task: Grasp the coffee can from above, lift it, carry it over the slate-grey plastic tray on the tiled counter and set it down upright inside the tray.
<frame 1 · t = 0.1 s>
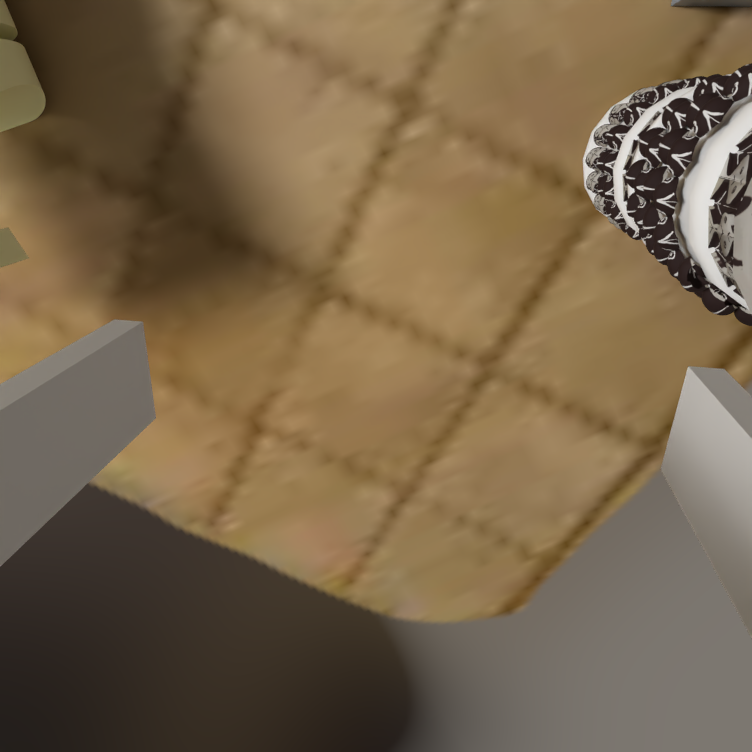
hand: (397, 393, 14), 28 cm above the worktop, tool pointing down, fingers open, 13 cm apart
decorative candle: (652, 160, 37), on the worktop
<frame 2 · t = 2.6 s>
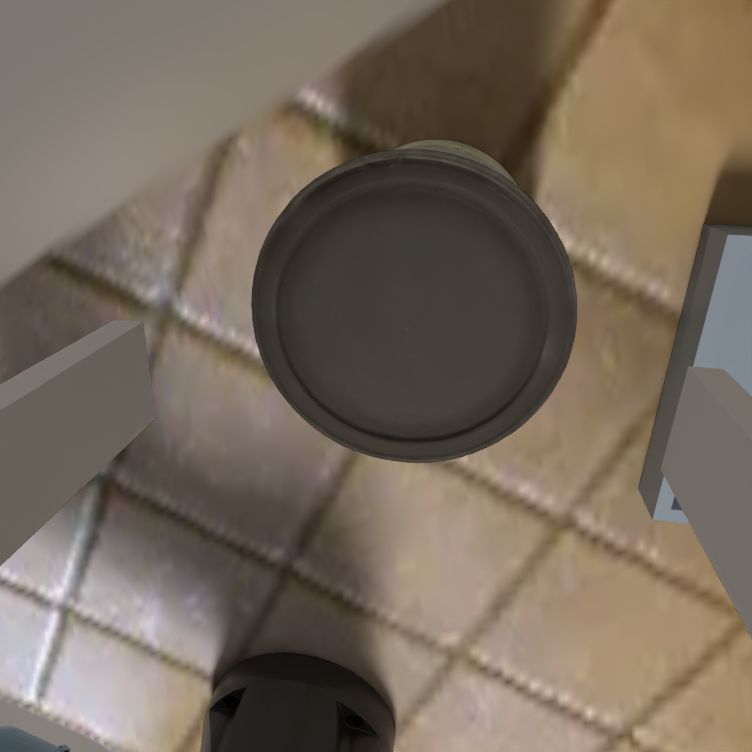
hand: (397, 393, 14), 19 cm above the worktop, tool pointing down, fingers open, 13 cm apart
coffee can: (433, 240, 32), on the worktop
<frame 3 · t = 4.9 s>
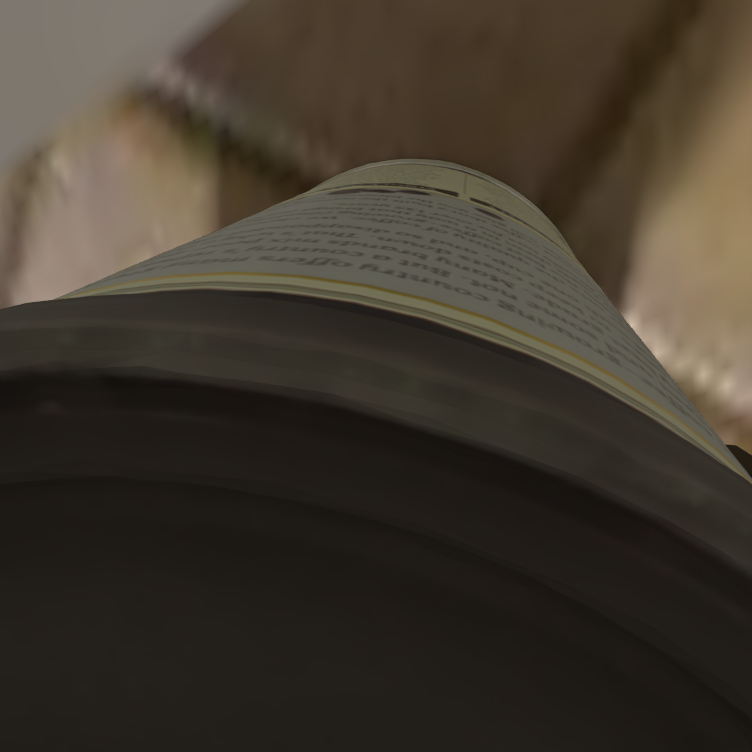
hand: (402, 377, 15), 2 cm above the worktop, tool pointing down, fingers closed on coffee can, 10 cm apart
coffee can: (411, 337, 17), on the worktop, touching gripper
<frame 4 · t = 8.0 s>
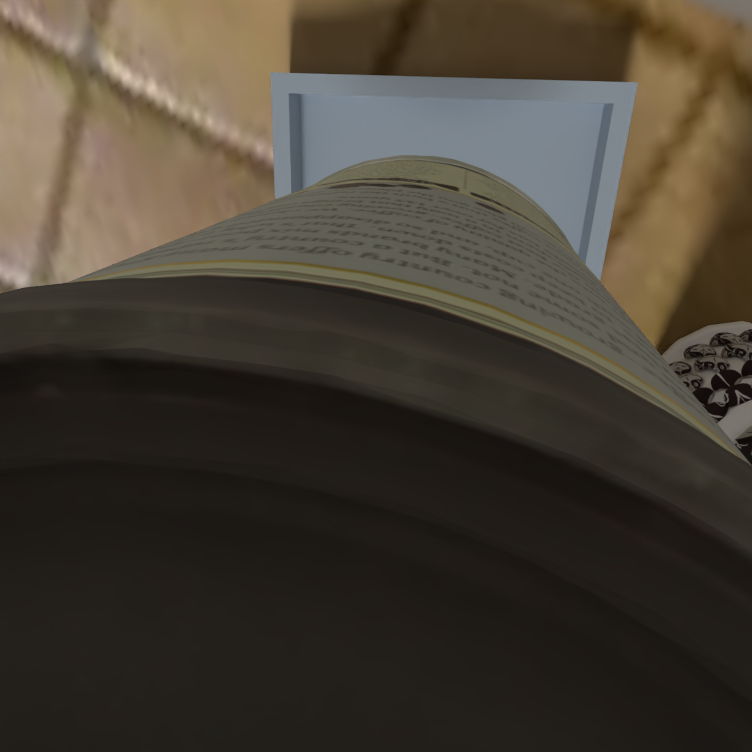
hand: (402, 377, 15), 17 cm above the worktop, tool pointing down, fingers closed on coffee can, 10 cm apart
tray: (437, 246, 31), on the worktop
decorative candle: (722, 392, 32), on the worktop
coffee can: (411, 334, 17), point 15 cm above the worktop, touching gripper
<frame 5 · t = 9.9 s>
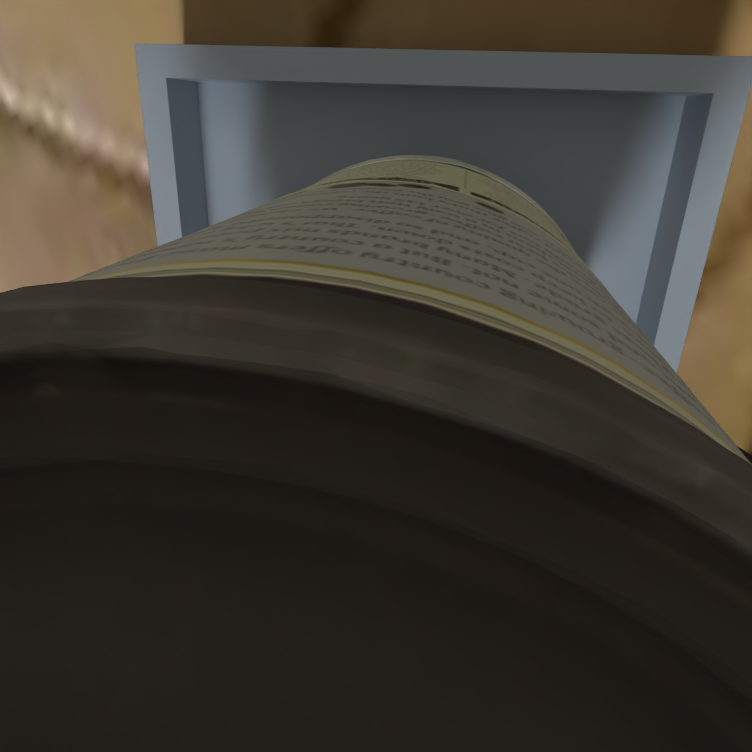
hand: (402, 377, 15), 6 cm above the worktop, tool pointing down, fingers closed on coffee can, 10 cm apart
tray: (417, 312, 21), on the worktop
coffee can: (411, 334, 17), point 3 cm above the worktop, touching gripper
when the fingers open (5 cm above the worktop, at t = 11.2 s): coffee can drops 1 cm, resting on tray.
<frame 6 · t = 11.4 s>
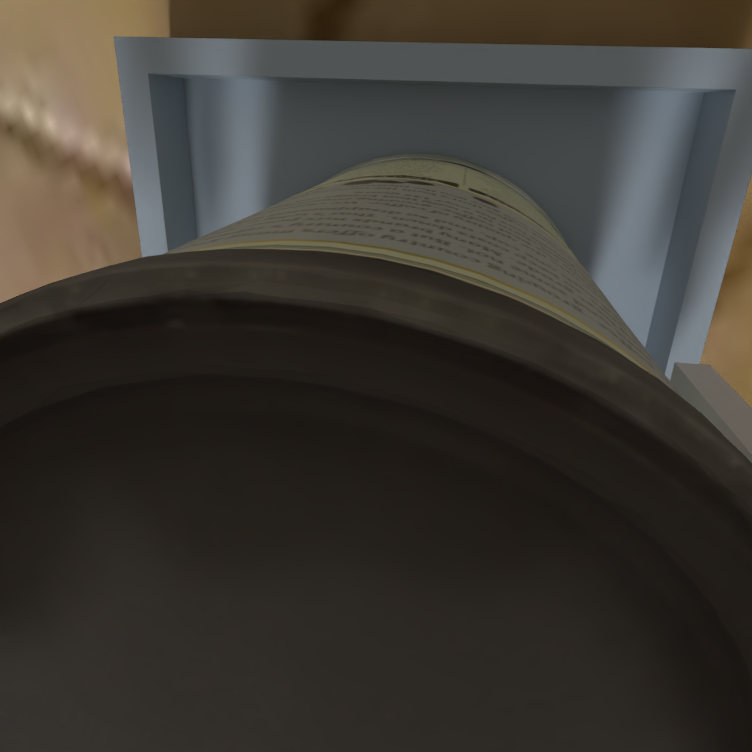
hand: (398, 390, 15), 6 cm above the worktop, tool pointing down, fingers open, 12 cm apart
tray: (417, 320, 20), on the worktop
coffee can: (415, 320, 19), point 1 cm above the worktop, touching tray
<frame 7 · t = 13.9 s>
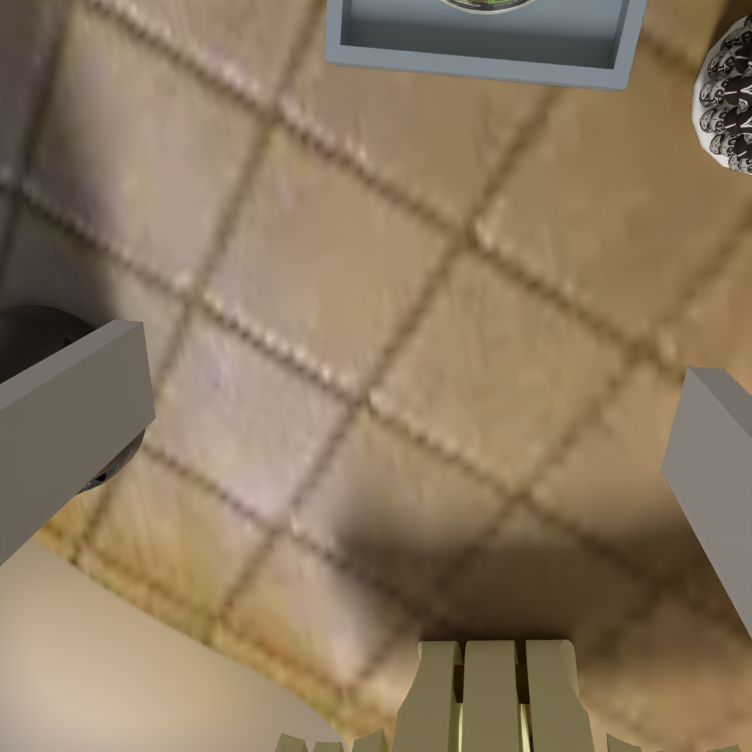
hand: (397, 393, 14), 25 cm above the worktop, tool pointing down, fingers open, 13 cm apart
slatted curved stool: (500, 687, 52), on the worktop
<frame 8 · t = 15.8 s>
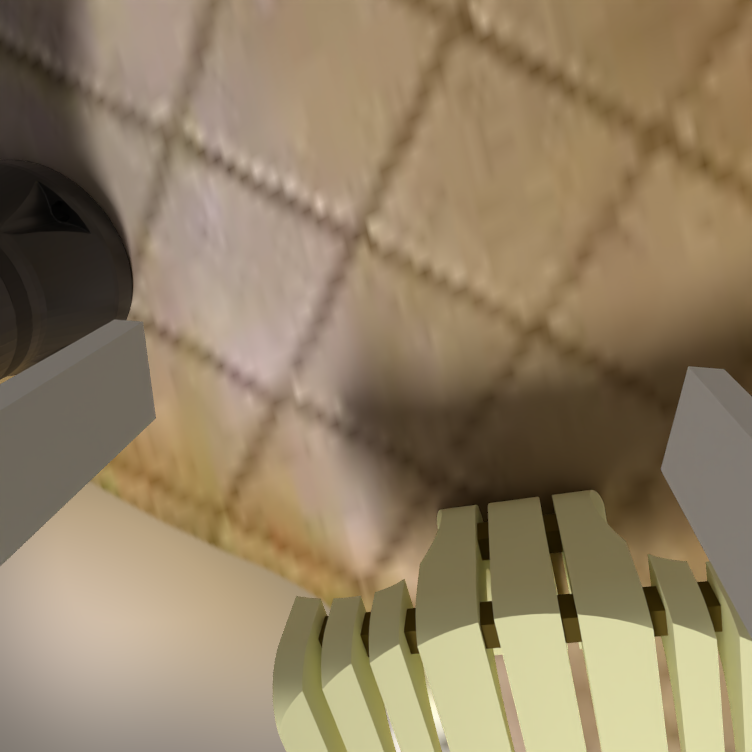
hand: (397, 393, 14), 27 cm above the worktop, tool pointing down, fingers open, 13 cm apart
slatted curved stool: (527, 560, 49), on the worktop
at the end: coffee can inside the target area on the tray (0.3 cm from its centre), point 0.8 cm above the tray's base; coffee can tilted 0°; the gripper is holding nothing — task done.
